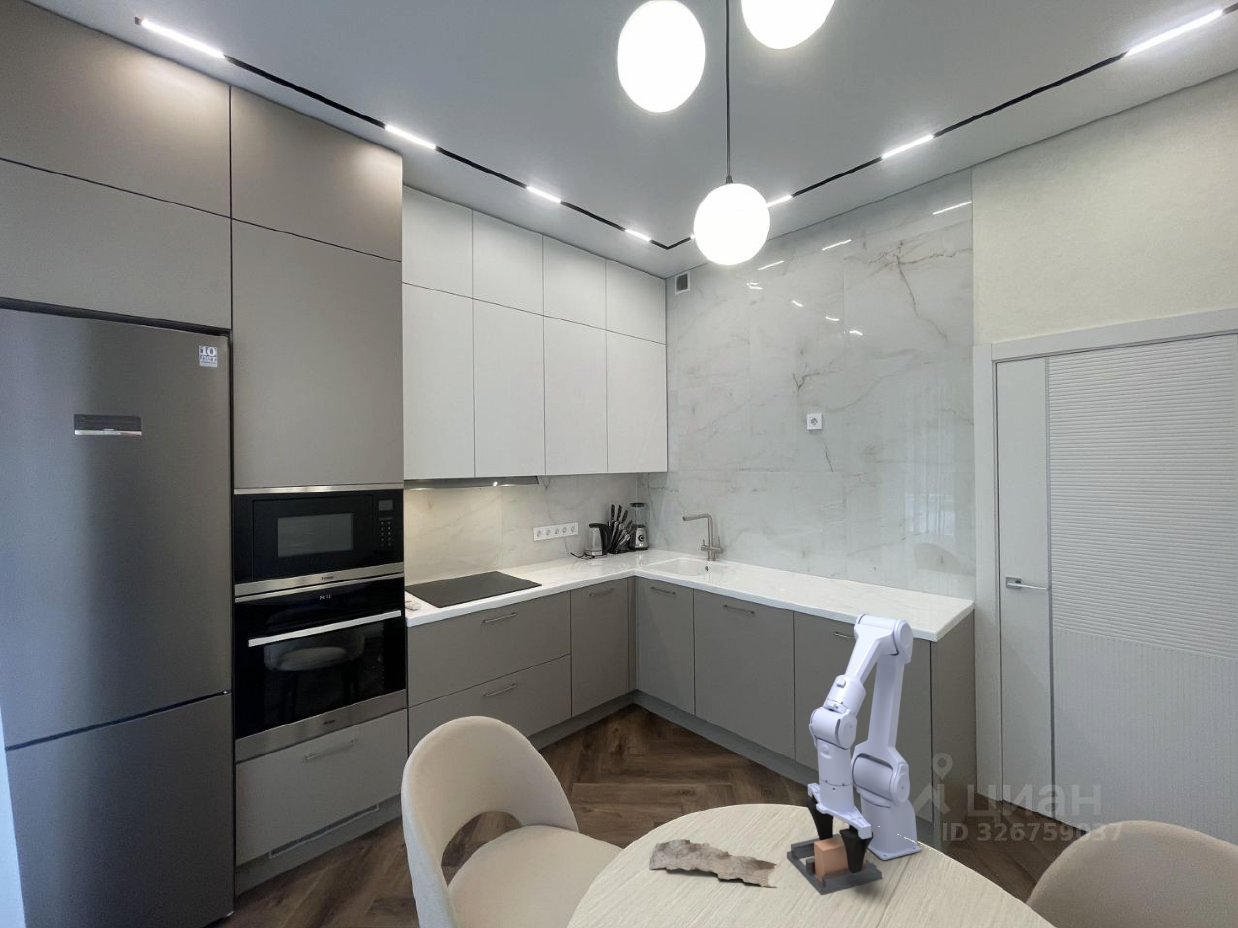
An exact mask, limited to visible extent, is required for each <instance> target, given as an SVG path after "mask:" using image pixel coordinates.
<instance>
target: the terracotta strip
mask: <svg viewBox="0 0 1238 928" xmlns="http://www.w3.org/2000/svg"><path fill="white" fill-rule="evenodd" d="M814 852H815V855H814V857H815V870H816V875H815V876H816V877H817V879H818V880H819V881H820V882H821V883H822V876H824V875H828V874H832V873H836V872H839V871H843V870H847V869H849V867H848V862H847V854H846V849H845V845H844V842H843V839H842V837H841V836H839V837H834V838H830V839H826V840H821V841H817V842H814ZM866 859H867V858H866V855H865V856H864V861H863V865H866Z"/></svg>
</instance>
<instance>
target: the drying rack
mask: <svg viewBox="0 0 1238 928" xmlns="http://www.w3.org/2000/svg"><path fill="white" fill-rule="evenodd" d="M839 836H841V835H840V833H835V834H834V833H833V838H834V837H839ZM817 841H820V840H819V837H817V838H812V839H809V840H808V839H807V840H804V841H800V842H799V841H798V842H795V843H791V844H790V851H786V858H787V859H788V860H789V862H791V864H792V865H793V866H794V867H795V868H796V869H797V870H798V872H799V873H800V874H802V875H803V877H804V878H805V879H806V880H807V881H808V882H809V883H810V884H811V885H812V886H813V887H814V888H815V889H816V891H817V892H818V893H819V894H820V895H822V896H823V895H827V894H831V893H834V892H837V891H841V890H845V889H849V888H853V887H857V886H860V885H864V884H867V883H868V884H869V883H872V882H874V881H879V880H883V872H882V871H881V870H880V869H879V868H878V866H877V865H876V864H875V863H873V862H870V861H869V860H868V859H867V858H866V865H863V866H862V871H861V872H857V873H851V872H850V870H849V869H847V870H843V871H839V872H836V873H832V874H828V875H824V876H822V883H821V882H820V881H819V880H818V879H817V877H816V870H815V852H814V842H817ZM807 857H810V858H807ZM806 858H807V859H806ZM800 859H805V863H804V862H802V860H800Z"/></svg>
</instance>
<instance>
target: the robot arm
mask: <svg viewBox="0 0 1238 928" xmlns="http://www.w3.org/2000/svg"><path fill="white" fill-rule="evenodd" d="M853 635H854V639H855V644H854V647H853V650H852V652H851V656H850V658H849V662H848V664H847V667H846V670H845V673H844V674H841V675H838V676H836V677H835V680H834V682H833V684H832V686H831V687H830V690H829V692H828V694H827V696H826V698H825V701H824V702H823V705H822V706H820V707H818V708H816V709H814V710H813V712H812V713H811V716H810V719H809V720H810V721H809V724H808V729H809V733H810V735H811V736H812V738H813V746H814V748H815V749H817V763H818V764H817V766H818V779H819V781H818V782H819V784H818V783H816V782H813V783H808V784H807V794H808V795H807V796H809V797H810V798H811V800H807V801H805V802H806V803H805V805H806V807H807V810H808V811H809V813H810V815H811V817H812V820H813V822H814V825H815V828H816V833H817V836H818V838H819V840H820V841H821V840H826V839H830V838H833V835H834V829H833V828H834V818H836V819H838V820H840V821H842V822H844V823H846V824H847V825H848V828H843V829H839V830H838V832H839V833H838V834H840V835H841V837H842V839H843V842H844V845H845V849H846V854H847V862H848V867H849V870H850V872H851V873H857V872H861V871H862V866H863V861H864V856H865V857H866V852H867V849H868V850H870V851H871V852H872V853H873V854H874V855H875V856H877V857H878V858H879V860H882V861H886V860H887V861H888V860H891V859H895V858H898V857H902V856H907V855H909V854H913V853H914V854H915V853H918V852H921V851H922V847H921V848H919V847H920V846H919V845H918V844H917V845H916V844H915V843H914V842H912V841H910V840H908V839H905V838H904V837H906V838H909V839H911V840H914V841H915V842H917V843H918V836H917V835H918V834H917V823H916V813H915V809H914V807H913V805H912V803H911V801H910V800H909V796H910V791H911V783H910V775H909V774H910V773H909V771H910V769H909V764H908V763H907V761H906V759H905V758H904V757H903V756H902V755H901V754H900V752H898V750H897V748H896V743H897V735H898V726H899V716H900V707H901V698H902V692H903V691H902V689H903V680H904V671H905V665H908V664H909V663H911V661H912V655H913V647H914V633H913V630H912V628H911V626H910V624H909V622H908V621H907V620H906V619H897V618H896V619H895V618H889V617H882V616H876V615H869V614H865V613H861V614H859V615H858V616H857V618H856V619H855V623H854V627H853ZM876 663H877V664H876ZM875 664H876V671H875V681H874V687H873V688H874V689H873V695H872V703H871V709H870V710H871V711H870V718H869V726H868V734H867V735H868V736H867V740H865V741H863V742H861V743H859V744H857V745H855V747H854V751H853V755H852V756H851V747H852V745H853V744H854V742H855V740H856V736H857V724H858V719H857V716H858V714H859V711H860V710H861V706H862V704H863V701H864V699H865V697H866V695H867V692H866V688H865V687H864V683H865V682H866V680H867V678H868V676H869V674H870V673H871V671H872V670H873V667H874V666H875ZM871 757H873V758H871ZM877 759H879V760H881V761H879V760H877ZM882 761H884V762H886V763H884V762H882ZM853 785H854V786H853ZM854 787H856V793H858V794H859V795H860V806H861V812H860V810H859V809H858V808H857V807H856V805H855V800H854ZM878 826H880V827H878ZM897 834H899V835H897ZM900 835H901V836H900Z"/></svg>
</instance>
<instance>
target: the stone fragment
mask: <svg viewBox="0 0 1238 928" xmlns="http://www.w3.org/2000/svg"><path fill="white" fill-rule="evenodd" d="M654 848H655V849H654V850H652V852H653V853H652V855H651V856H650V858H649V864H648V869H649V870H650V871H652V870H654V869H655V870H657V869H662V868H666V870H670V871H672V870H676V869H677V870H678V869H683V870H685V871H693V870H697V869H698V871H699V870H700V871H702V872H712V873H715V874H717V877H718V879H723V880H730V879H742V881H743V882H744V883H751V884H756V885H759V886H760V887H762V888H766V887H767V888H776V889H778V886H776V885H773V886H772V885H771V884H770V883H769V881H770V879H769V876H770V875H771V874H772V873H774V871H775V870H776V868H775V866H777V863H773V862H770V861H767V860H763V859H762V860H759V859H757V858H756V857H754V856H746V855H731V854H729V851H727V850H726V851H723V850H722V849H721V848H717V847H713V846H710V843H708V842H703V843H696V842H691V840H690V839H686V838H685V839H684V838H683V839H673V840H669V841H666V842H661V843H658V842H657V843H656V844H655V847H654Z"/></svg>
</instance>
